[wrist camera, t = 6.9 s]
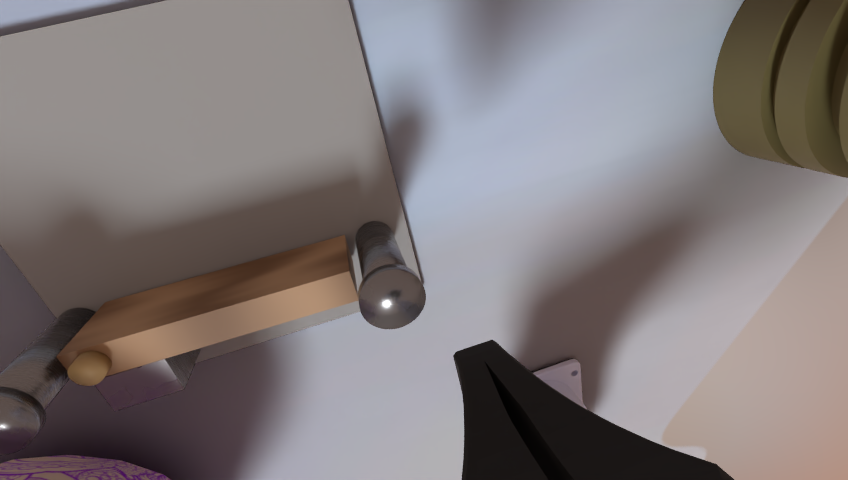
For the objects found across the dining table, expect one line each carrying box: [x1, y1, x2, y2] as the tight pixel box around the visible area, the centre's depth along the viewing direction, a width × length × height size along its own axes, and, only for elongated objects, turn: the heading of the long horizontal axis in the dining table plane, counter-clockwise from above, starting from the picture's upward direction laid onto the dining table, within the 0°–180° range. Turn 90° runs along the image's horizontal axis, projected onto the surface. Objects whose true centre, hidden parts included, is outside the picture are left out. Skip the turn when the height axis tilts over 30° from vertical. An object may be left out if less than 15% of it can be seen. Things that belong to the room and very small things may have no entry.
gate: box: [56, 235, 358, 386], centre depth 18 cm, size 12×2×5 cm, turn 102°
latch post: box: [0, 308, 201, 455], centre depth 18 cm, size 4×6×7 cm
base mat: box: [0, 0, 421, 363], centre depth 19 cm, size 16×17×1 cm
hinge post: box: [355, 221, 426, 329], centre depth 19 cm, size 3×3×7 cm
